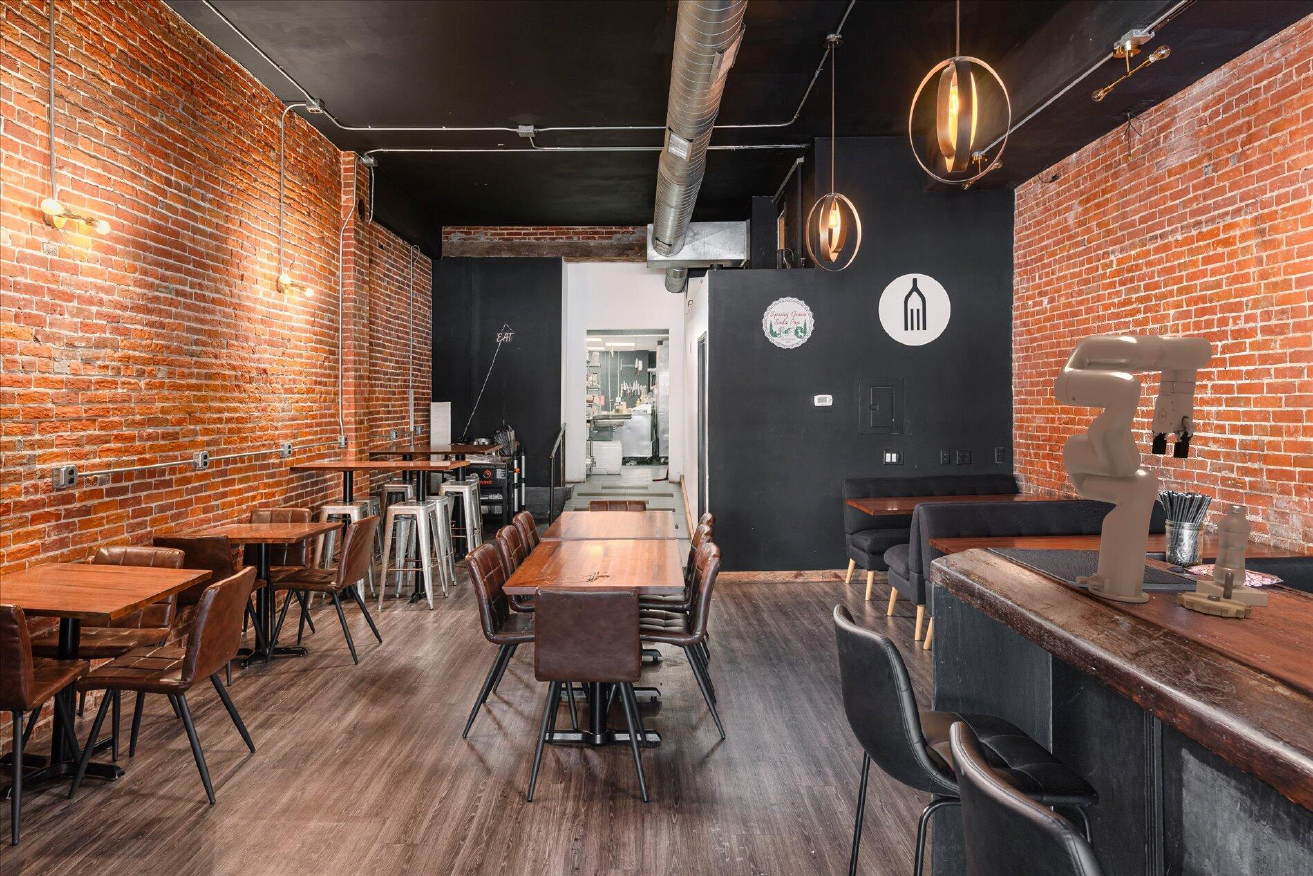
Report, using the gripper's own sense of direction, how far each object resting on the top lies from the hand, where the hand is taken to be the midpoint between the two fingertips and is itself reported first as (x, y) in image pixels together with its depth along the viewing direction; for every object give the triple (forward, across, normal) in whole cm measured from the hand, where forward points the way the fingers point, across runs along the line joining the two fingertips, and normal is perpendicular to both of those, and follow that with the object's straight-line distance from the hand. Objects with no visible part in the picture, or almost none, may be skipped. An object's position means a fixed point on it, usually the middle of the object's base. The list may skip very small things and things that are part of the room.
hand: (1169, 456), depth 194 cm
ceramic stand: (+33, +10, +12) cm, 37 cm away
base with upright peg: (+34, +22, +1) cm, 40 cm away
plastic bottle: (+31, +9, +12) cm, 34 cm away
